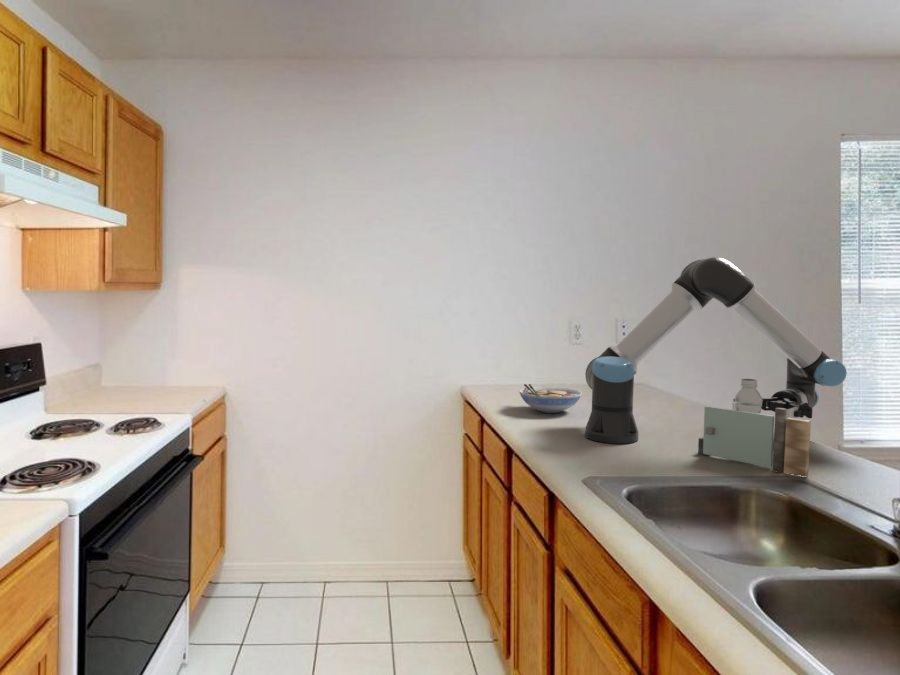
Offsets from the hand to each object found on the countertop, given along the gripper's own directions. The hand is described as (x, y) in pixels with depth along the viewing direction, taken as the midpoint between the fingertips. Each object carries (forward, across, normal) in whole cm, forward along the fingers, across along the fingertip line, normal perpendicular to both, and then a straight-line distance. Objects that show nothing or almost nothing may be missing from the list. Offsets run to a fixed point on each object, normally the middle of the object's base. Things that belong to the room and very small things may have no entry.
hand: (759, 411), depth 154 cm
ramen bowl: (0, +71, -11) cm, 72 cm away
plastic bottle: (+7, 0, -11) cm, 13 cm away
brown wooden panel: (+14, -4, -11) cm, 18 cm away
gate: (+17, -1, -10) cm, 20 cm away
